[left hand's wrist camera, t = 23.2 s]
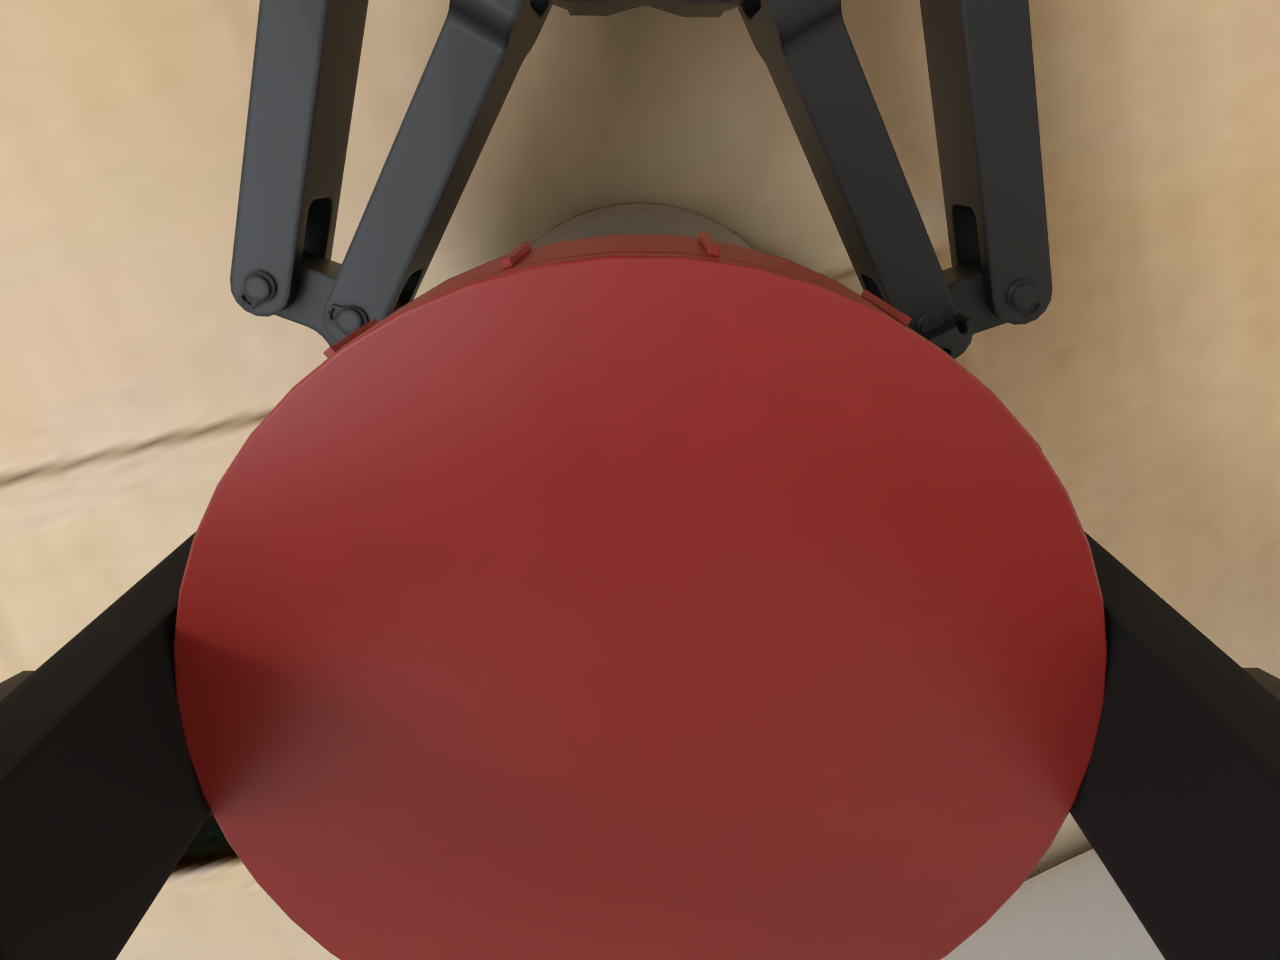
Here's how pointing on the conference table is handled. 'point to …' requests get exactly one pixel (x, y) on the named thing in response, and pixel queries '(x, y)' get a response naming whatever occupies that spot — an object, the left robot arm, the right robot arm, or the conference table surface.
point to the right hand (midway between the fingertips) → (638, 602)
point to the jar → (639, 224)
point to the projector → (1063, 920)
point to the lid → (640, 624)
